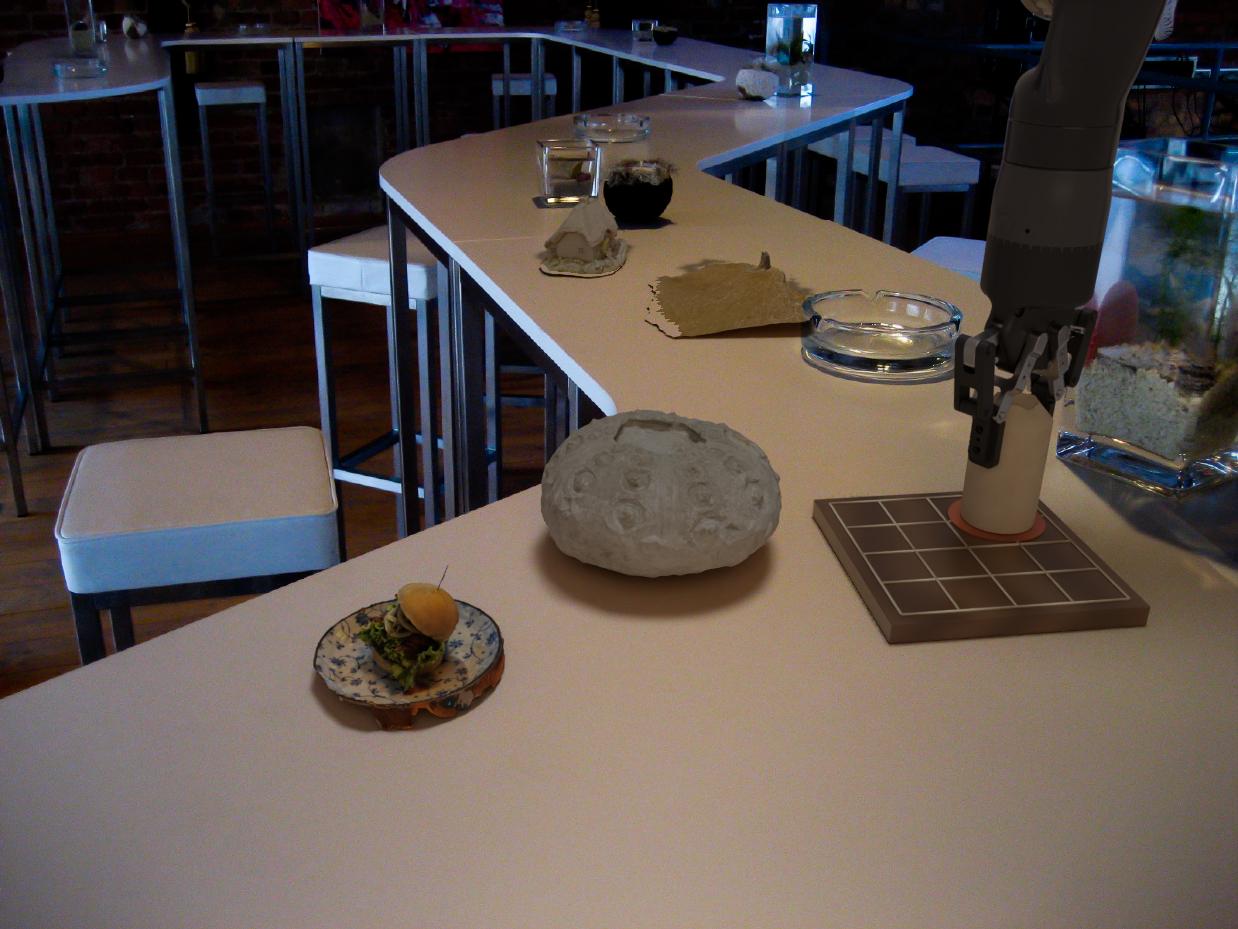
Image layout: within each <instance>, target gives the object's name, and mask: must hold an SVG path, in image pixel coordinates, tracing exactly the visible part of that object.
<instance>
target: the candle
mask: <svg viewBox="0 0 1238 929" xmlns="http://www.w3.org/2000/svg"><path fill="white" fill-rule="evenodd" d="M999 394H1000V391H997V392H995V393H994V401H993V403H994V404H996V402H997V399H998V397H999ZM1004 421H1006V424H1005V430H1004V436H1003V442H1002V448H1001V454H1000V460H999V464H998V465H997V466H995V467H993V468H990V469H987V468H984V467H982V466H979V465H977V464H974V463H972V462H971V461H970V460H969V458H968V457H967V460H966V467H965V474H964V481H963V488H962V491H963V493H962V500H961V508H960V511H961V516H962V518H963V519H964V520H965V521H966V522H967V523H969V524H970V525H972V526H974V527H976V528H978V529H981V530H984V531H988V532H992V533H999V534H1016V533H1022V532H1025V531H1027V530H1029V529H1030V528H1031V527H1032V526H1033V524H1034V522H1035V517H1036V512H1037V507H1038V502H1039V499H1040V496H1041V491H1042V486H1043V481H1044V480H1043V479H1044V474H1045V469H1046V464H1047V459H1048V452H1049V448H1050V443H1051V437H1052V432H1053V426H1054V417H1053V418H1052V417H1051V415H1050V414H1049V413H1048V411H1047V410H1046V409H1045V408H1044V407H1043V405H1042V404H1041V403H1040V402H1039V400H1038V399H1037V397H1036V396H1035V395H1032V394H1031V393H1026V392H1022V393H1020V394H1017V395H1015V396H1014V399H1013V401H1012V403H1011V406H1010V408H1009V411H1008V413H1007V416H1006V418H1005V420H1004Z"/></svg>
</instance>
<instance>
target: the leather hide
mask: <svg viewBox="0 0 1238 929" xmlns="http://www.w3.org/2000/svg"><path fill="white" fill-rule="evenodd" d="M760 253H761V256H760V260H759V264H757V265H756V264H751V263H749V262H739V263H737V262H729V263H718V262H715V263H714V262H712V261H711V262H709V263H706V264H705V266H704V267H701V268H700V269H698V270H692V271H690V272H685V273H682V274H681V275H677V276H669V275H663V276H660V277H658V278H657V279H656V280H655V281H661V282H660V283H657V284H659V285H657V286H656V288H657V289H656V290H655V291H660V293H659V294H655V293H654V295H657V296H656V297H655V298H657V299H658V300H656V301H660V302H658V303H657V304H658V305H661V308H663V309H660V310H658V311H656V312H664V313H661V315H665V316H664V317H665V319H670V320H668V321H667V322H675V324H674V325H679V327H678V329H679V330H678V331H679V332H682V333H681V335H680V336H689V337H697V336H701V335H702V336H703V335H709V334H715V333H721V332H724V331H731V330H737V329H738V330H739V329H744V328H754V327H761V326H762V327H763V326H767V325H775V324H776V325H777V324H787V323H792V324H793V323H805V322H804V318H803V311H802V304H803V302H804V299H805V298H808V297H807V296H805V295H803V293H802V292H800V291H796V290H795V289H793V288H792V287H791V286H790V285H789V283H788V282H787V279H786V273H785V272H784V271H783V270H780V268H779V267H775V266H772V264H771V258H770V254H769V252H768V251H760ZM802 295H803V296H802Z"/></svg>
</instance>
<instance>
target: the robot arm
mask: <svg viewBox="0 0 1238 929" xmlns="http://www.w3.org/2000/svg"><path fill="white" fill-rule="evenodd" d="M1020 1H1021V3H1022V5H1023V6H1024V7H1025V9H1026V10H1028V11H1029V12H1030V13H1031V14H1033V15H1034V16H1037V17H1038V18H1040V19H1042V20H1044V21H1048V22H1049V25H1048V29H1047V32H1046V36H1045V40H1044V44H1043V47H1042V50H1041V54H1040V57H1039V61H1038V64H1037V65H1036V66H1035V67H1033V68H1031V69H1028V70H1026V71H1025V72H1024V73H1023V74H1022V75H1021V76H1020V77H1019V78H1018V80H1017V82H1016V84H1015V87H1014V89H1013V92H1012V96H1011V100H1010V104H1009V109H1008V110H1009V111H1008V118H1007V123H1006V130H1005V138H1004V143H1003V144H1004V145H1003V151H1002V159H1001V163H1000V167H999V171H998V175H997V177H996V181H995V185H994V189H993V193H992V199H991V206H990V211H989V212H990V213H989V220H988V228H987V231H986V232H987V233H986V239H985V240H986V241H985V246H984V254H983V261H982V268H981V272H980V273H981V274H980V281H979V288H980V290H981V292H982V293H983V294H984V295H985V296H986V297H987V299H988V300H989V301H990V303H991V307H990V312H989V315H988V318H987V320H986V322H985V324H984V327H983V331H981V332H980V333H977V334H976V335H975V336H972V335H968V334H966V333H960V334H959V335H958V336H957V337H956V339H955V342H954V366H953V369H954V370H953V371H954V372H953V410H955V411H956V412H959V413H962V414H965V415H967V416H970V417H971V419H972V420H971V427H970V434H969V440H968V446H967V459H968V458H969V460H970V461H971V462H972V463H974V464H977V465H979V466H982V467H984V468H987V469H990V468H993V467H995V466H997V465H998V464H999V460H1000V454H1001V448H1002V442H1003V436H1004V430H1005V424H1006V421H1004V420H1005V418H1006V416H1007V413H1008V411H1009V408H1010V406H1011V403H1012V401H1013V399H1014V396H1015V395H1017V394H1020V393H1024V391H1025V389H1026V391H1027V392H1028V393H1030V394H1032V395H1035V396H1036V397H1037V399H1038V400H1039V402H1040V403H1041V404H1042V405H1043V407H1044V408H1045V409H1046V410H1047V411H1048V413H1049V414H1050V415H1051V417H1052V418H1053V419H1054V413H1055V408H1056V403H1057V402H1059V401H1061V400H1062V398H1063V397H1064V394H1065V390H1066V388H1071V389H1074V388H1075V387H1076V386H1077V385H1079V382H1080V379H1081V375H1082V372H1083V369H1084V365H1085V362H1086V358H1087V354H1088V351H1089V349H1090V344H1091V341H1092V337H1093V335H1094V331H1095V327H1096V324H1097V321H1098V317H1099V312H1098V310H1096V309H1093V308H1089V307H1087V306H1085V305H1087V304H1088V303H1089V302H1091V301H1092V299H1093V297H1094V295H1095V290H1096V286H1097V285H1096V284H1097V278H1098V275H1099V274H1098V273H1099V268H1100V264H1101V258H1102V253H1103V247H1104V243H1105V238H1106V234H1107V233H1106V232H1107V227H1108V224H1109V223H1108V222H1109V216H1110V212H1111V207H1112V200H1113V199H1112V198H1113V183H1114V171H1115V163H1116V159H1117V154H1118V148H1119V143H1120V138H1121V132H1122V129H1123V128H1122V127H1123V122H1124V115H1125V107H1126V100H1127V98H1128V95H1129V93H1130V91H1131V88H1132V86H1133V85H1134V83H1135V81H1136V80H1137V77H1138V74H1139V72H1140V70H1141V68H1142V66H1143V63H1144V61H1145V59H1146V56H1147V54H1148V52H1149V49H1150V47H1151V44H1152V42H1153V39H1154V37H1155V35H1156V32H1157V30H1158V27H1159V26H1160V23H1161V20H1162V18H1163V14H1164V12H1165V10H1166V6H1167V3H1168V0H1020ZM1069 355H1070V361H1069ZM996 368H997V370H999V371H1002V372H1004V373H1009V374H1011V375H1012V376H1011V377H1009V378H1005V377H1002V376H999V375H997V374H996V372H995V371H996ZM995 387H997V388H999V390H1000V391H999V392H1000V394H999V397H998V399H997V402H996V404H994V403H993V401H994V395H995ZM971 389H972V390H974V391H973V392H972V395H971Z"/></svg>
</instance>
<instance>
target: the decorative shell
mask: <svg viewBox="0 0 1238 929" xmlns="http://www.w3.org/2000/svg"><path fill="white" fill-rule="evenodd" d="M780 481H781V476H780V474H779V473H777V472H776V471H775V470H774V468H773V467H772V464H771V461H770V459H769V457H768V456H767V454H766V452H765V451H764V450H763V449H762V448H761V447H760V446H759V445H758V444H757V443H756V442H754V441H753V440H751V439H749V438H748V437H746V436H745V435H744V434H743V433H741V432H740V431H738V430H736V429H733V428H730V427H729V425H728V424H726V423H725V422H719V423H715V422H712V421H710V420H702V419H699V418H694V417H693V418H688V417H687V416H680V415H678V414H677V413H676V412H675V411H671V412H668V413H665V412H664V411H662V410H653V409H638V408H637V409H634V410H630V411H624V412H619V413H615V414H612V415H607V416H605V417H603V418H599V419H597V418H592V420H591V421H590V422H589V423H588V424H586V425H584V426H582V427H580V428H578V429H574V428H573V429H571V430H570V432H569V436H567V438H566V439H565V440H564V441H563V442H561V445H559V447H557V449H556V451H554V453H553V454H552V456H551V457H550V459H549V461H548V463H546V464H545V466H544V470H543V473H542V478H541V482H540V486H541V497H540V512H541V516H542V518H543V521H544V522H545V524H546V527H547V528H548V530H549V536H550V538H551V539H552V540H553V541H554V543H555V545H556V547H557V548H558V549H559V551H560V552H561V553H563V554H564V555H566V556H569V557H572V558H575V559H577V560H578V561H580V562H581V563H583V564H589V565H593V566H597V567H599V568H603V569H607V570H609V571H614V572H617V573H621V574H624V575H627V576H635V577H646V578H650V579H655V578H658V577H669V576H672V575H674V576H675V575H676V576H679V577H680V576H685V575H687V574H701V573H702V572H704V571H707V570H711V569H713V570H715V569H719V568H723V567H735V566H737V565H739V564H740V563H742V562H744V561H745V560H747V559H748V558H749V557H750V556H751V555H752V554H754V553H755V552H757V550H759V549H760V548H761V547H764V546H765V545H766V542H767V540H768V539H769V538H770V537H771V536H773V535H774V533H775V532H776V530H777V528H778V526H779V524H780V515H781V511H782V509H783V508H782V507H783V506H782V493H781V492H782V491H781V488H780V484H779V483H780Z"/></svg>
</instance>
